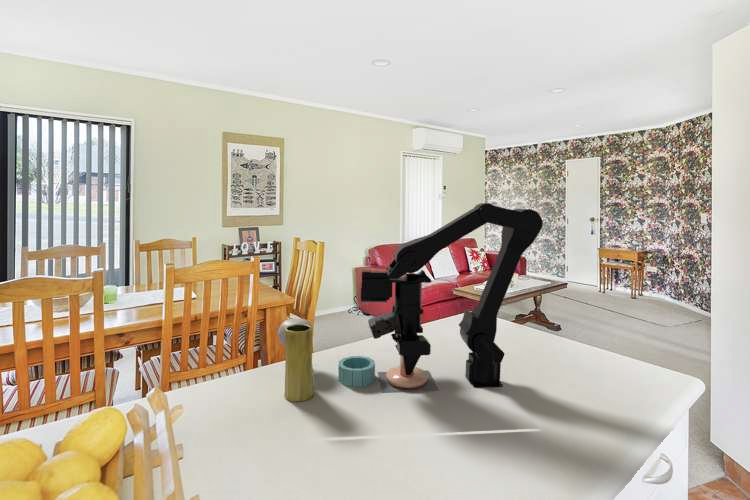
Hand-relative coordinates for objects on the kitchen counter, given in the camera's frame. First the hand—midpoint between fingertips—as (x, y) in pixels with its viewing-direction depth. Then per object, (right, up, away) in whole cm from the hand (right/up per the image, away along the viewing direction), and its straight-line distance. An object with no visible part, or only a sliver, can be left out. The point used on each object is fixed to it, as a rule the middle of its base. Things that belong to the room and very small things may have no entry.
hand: (406, 371), depth 88 cm
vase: (-23, -3, -6) cm, 24 cm away
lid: (0, -2, 0) cm, 2 cm away
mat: (0, -3, 0) cm, 2 cm away
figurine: (-26, -2, +7) cm, 27 cm away
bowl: (-11, -2, +1) cm, 11 cm away
